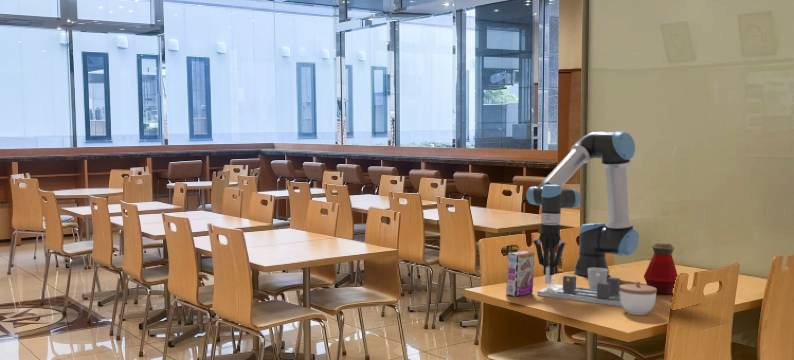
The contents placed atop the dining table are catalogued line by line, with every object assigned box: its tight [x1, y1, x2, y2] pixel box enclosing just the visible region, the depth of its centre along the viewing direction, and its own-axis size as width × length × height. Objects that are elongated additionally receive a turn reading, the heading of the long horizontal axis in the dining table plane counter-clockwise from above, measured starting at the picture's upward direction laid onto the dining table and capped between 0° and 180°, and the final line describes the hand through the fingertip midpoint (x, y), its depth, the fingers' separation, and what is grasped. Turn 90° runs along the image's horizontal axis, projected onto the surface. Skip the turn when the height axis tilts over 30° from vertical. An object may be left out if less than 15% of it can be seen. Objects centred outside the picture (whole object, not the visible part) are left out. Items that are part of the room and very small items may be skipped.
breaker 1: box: [562, 274, 577, 291], centre depth 305 cm, size 4×4×5 cm
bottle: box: [643, 241, 679, 296], centre depth 313 cm, size 16×14×20 cm
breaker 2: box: [597, 281, 611, 299], centre depth 292 cm, size 4×4×5 cm
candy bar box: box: [505, 250, 535, 298], centre depth 303 cm, size 11×5×16 cm, turn 134°
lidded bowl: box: [619, 281, 657, 316], centre depth 275 cm, size 13×13×11 cm
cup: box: [587, 268, 608, 289], centre depth 317 cm, size 11×8×8 cm
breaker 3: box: [606, 276, 621, 293], centre depth 302 cm, size 4×4×5 cm
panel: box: [536, 283, 622, 307], centre depth 301 cm, size 18×34×2 cm, turn 58°
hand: (548, 283), depth 310 cm, fingers closed
